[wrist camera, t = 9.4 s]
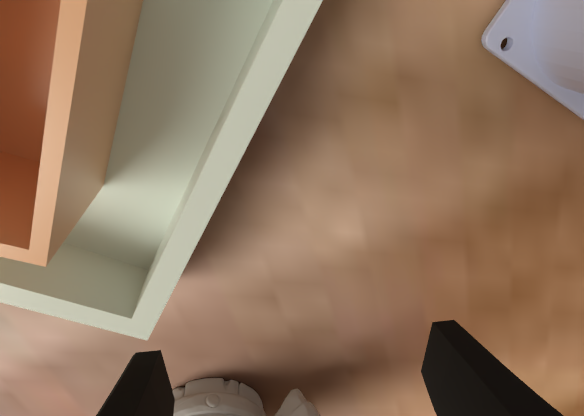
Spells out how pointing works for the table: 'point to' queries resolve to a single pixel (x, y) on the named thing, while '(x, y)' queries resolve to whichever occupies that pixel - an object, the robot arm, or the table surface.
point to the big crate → (166, 159)
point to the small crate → (57, 114)
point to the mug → (232, 400)
